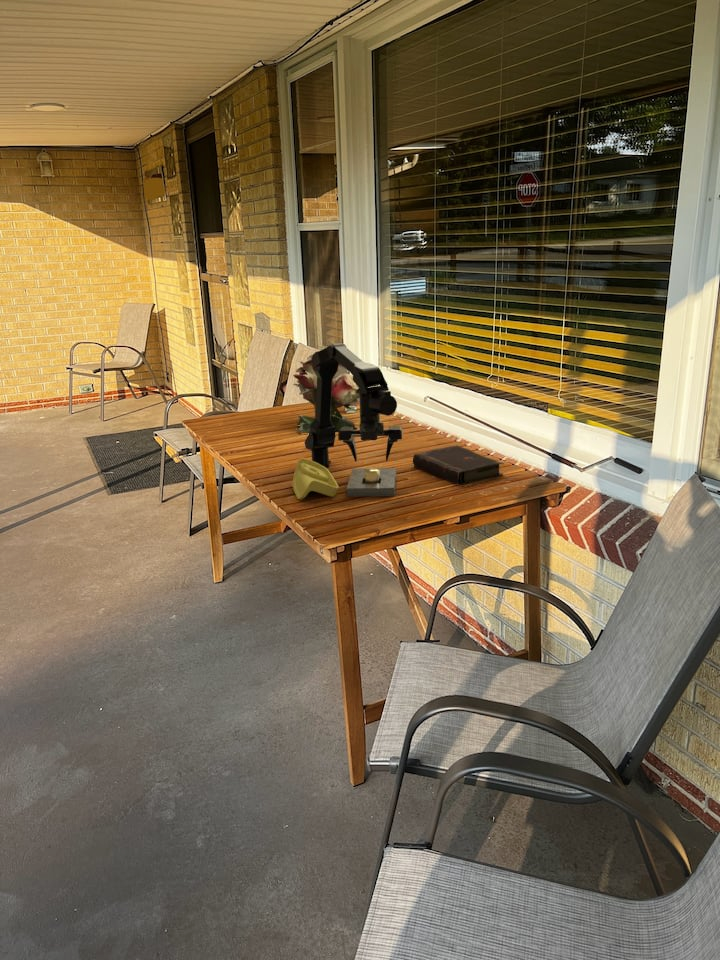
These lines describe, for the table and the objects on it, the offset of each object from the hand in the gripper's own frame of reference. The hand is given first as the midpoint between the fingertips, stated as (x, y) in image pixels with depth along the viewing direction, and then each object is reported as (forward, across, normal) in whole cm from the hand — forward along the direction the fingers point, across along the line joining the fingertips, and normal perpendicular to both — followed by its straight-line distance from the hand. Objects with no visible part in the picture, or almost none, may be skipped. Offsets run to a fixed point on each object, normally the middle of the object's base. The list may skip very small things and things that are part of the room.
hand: (371, 461), depth 217 cm
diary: (+9, +27, +18) cm, 33 cm away
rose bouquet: (+9, -24, +84) cm, 88 cm away
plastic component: (+9, -18, 0) cm, 20 cm away
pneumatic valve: (+9, -16, +108) cm, 110 cm away
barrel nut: (+9, 0, 0) cm, 9 cm away
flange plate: (+9, 0, +3) cm, 9 cm away
